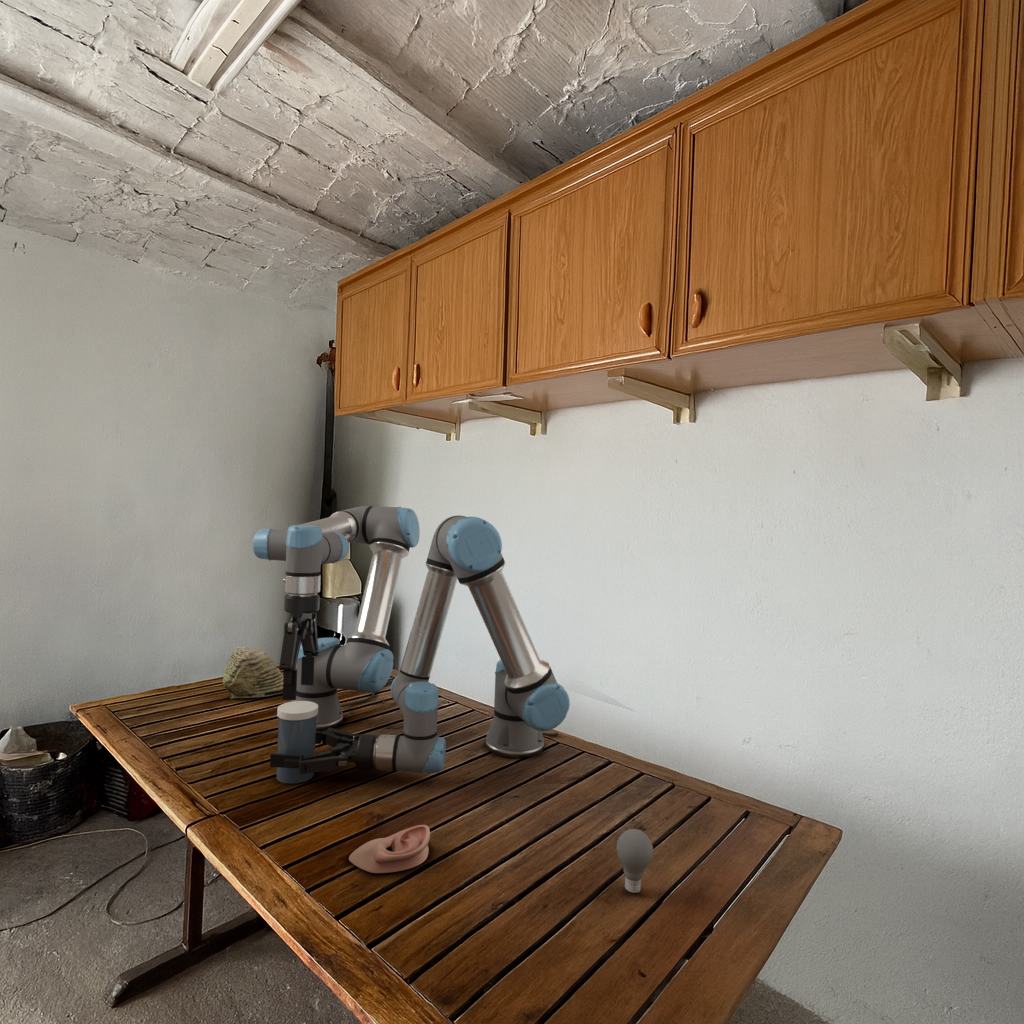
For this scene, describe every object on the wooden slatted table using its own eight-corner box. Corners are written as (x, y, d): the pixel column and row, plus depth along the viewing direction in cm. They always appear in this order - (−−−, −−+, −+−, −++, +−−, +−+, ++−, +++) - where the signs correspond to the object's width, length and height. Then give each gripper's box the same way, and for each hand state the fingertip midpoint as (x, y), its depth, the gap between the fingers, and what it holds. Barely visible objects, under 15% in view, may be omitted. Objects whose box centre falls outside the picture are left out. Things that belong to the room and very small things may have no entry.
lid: (276, 709, 145) (276, 702, 145) (316, 706, 149) (316, 699, 149) (278, 722, 137) (278, 715, 137) (319, 718, 141) (320, 711, 141)
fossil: (218, 695, 195) (220, 647, 195) (278, 685, 208) (279, 640, 207) (228, 703, 189) (230, 653, 188) (289, 692, 201) (290, 645, 201)
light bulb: (610, 879, 108) (613, 822, 108) (644, 879, 109) (647, 822, 109) (619, 902, 102) (622, 840, 102) (655, 901, 103) (658, 840, 103)
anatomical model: (341, 845, 108) (369, 813, 120) (340, 868, 108) (368, 833, 120) (414, 857, 106) (436, 823, 117) (413, 880, 106) (435, 844, 117)
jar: (275, 770, 145) (278, 704, 145) (312, 766, 148) (315, 701, 148) (277, 785, 138) (279, 716, 138) (315, 781, 141) (318, 713, 141)
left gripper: (303, 586, 154) (300, 676, 154) (264, 601, 131) (260, 707, 132) (334, 587, 154) (330, 678, 154) (300, 602, 131) (296, 709, 131)
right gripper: (361, 794, 130) (259, 789, 131) (387, 747, 155) (301, 742, 155) (363, 758, 130) (260, 753, 130) (388, 716, 155) (302, 712, 155)
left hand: (298, 691), depth 143 cm, fingers open, 10 cm apart
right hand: (282, 747), depth 143 cm, fingers open, 13 cm apart
